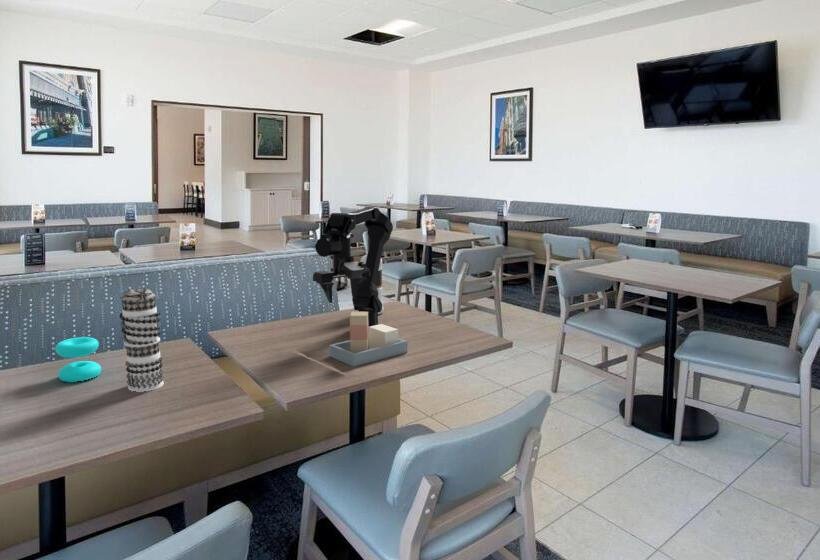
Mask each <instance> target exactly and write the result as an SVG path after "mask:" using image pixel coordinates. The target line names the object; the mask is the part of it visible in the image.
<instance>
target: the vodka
mask: <svg viewBox="0 0 820 560" xmlns="http://www.w3.org/2000/svg"><path fill="white" fill-rule="evenodd" d="M369 244H370V240H369V237H368V236H367V250H368V249H369ZM367 254H368V252H367V253H366V254H365V255H363V256H362V257H361V259H360V261H359V262H365V263H366V258H367ZM382 286H383V259H382V258H381V260H380V265H379V270H378V275H377V280H376V287H377V290H378V298H379V300H380V301H381V303H382V310H381V312H378V316H379V315H381V314H383V313H384V310H385V309H384V304H383V287H382Z"/></svg>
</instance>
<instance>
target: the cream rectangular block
mask: <svg viewBox="0 0 820 560" xmlns="http://www.w3.org/2000/svg"><path fill="white" fill-rule="evenodd" d="M368 336H369V349H373V348H377V347H381V346H385V345H389V344H393V343H397V342H398V338H399V329H398V328H395V327H392V326H389V325H385V324H383V323H380V324H379V323H378V325H375V326H370V327H369V335H368Z"/></svg>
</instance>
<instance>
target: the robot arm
mask: <svg viewBox="0 0 820 560" xmlns="http://www.w3.org/2000/svg"><path fill="white" fill-rule="evenodd" d="M362 223H364V226H365V228H366V229H367V232H366V234H367V238H368V237H369V240H370V244H369V249H368V248H367V253H368V254H367V253H366V254H367V258H366V263H365V262H360V261H359V262H355V258H354V256H353V255H352V253H351V252H352V251H351V250H352V249H351V247H352V244H351V241H352V240H351V239H352V238H355V237H354V236H355V235H354V234H353V233H351V232H352V231H353V230H354V229H356V228H357V227H356V226H358V225H359V224H362ZM393 229H394V224H393V223H392V221H391V219H390V218H389V217H388V216H387V215H386V214H384V213H383V212H381V210H380V208H379V207H376V206H364V207H363V208H361V209H357V210H354V211H350V212H332V213H331V214H330V215H329V217H328V220H327V221H326V224H325V227H324V230H323V233H322V234H320V238H319V239H318V240H317V241H316V243H315V246H314V248H315V251H316V254H317V255H319V257H322V258H323V257H324V258H326V257H330V260H332V267H331V268H330V271H326V270H320V271H314V273H313V275H312V281H313V282H316V283H317V284H318V285H320V288H321V289H322V291H323V292H324V294H325V297H326V299H327V301H328V303H330V304H332V303H333V286H334V284H335V283H334V282H333V280H334V279H338V278H345V277H346V278H347V279H349V281H350V292H351V295H352V296H351V300H352V301H351V302H352V305H353V309H354V311H357V312H368V327H370V326H375V325H379V315H378V312H381V310H382V303H381V301H380V300H379V298H378V290H377V287H376V280H377V275H378V270H379V265H380V260H381V259H382V256H383V250H384V246H385V244H386V243H387V242H388V241H389V240H390V238H391V235H392V232H393Z"/></svg>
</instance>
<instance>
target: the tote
mask: <svg viewBox="0 0 820 560" xmlns="http://www.w3.org/2000/svg"><path fill="white" fill-rule="evenodd" d="M328 350H329V357H331V358H333V359H335V360H337V361H340V362H342V363H344V364H347V365H348V366H351V367H358V366H361V365H365V364H369V363H372V362H375V361H376V362H377V361H379V360H383V359H387V358H388V359H389V358H391V357H394V356H398V355H402V354H405V353H408V340H406V339H405V340H404V339H403V338H399V337H398V342H397V343H393V344H389V345H385V346H381V347H377V348H373V349H369V335H368V350H365V351H361V352H357V353H353V352H350V340H345V341H340V342H336V343H332V344H329V349H328Z"/></svg>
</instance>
